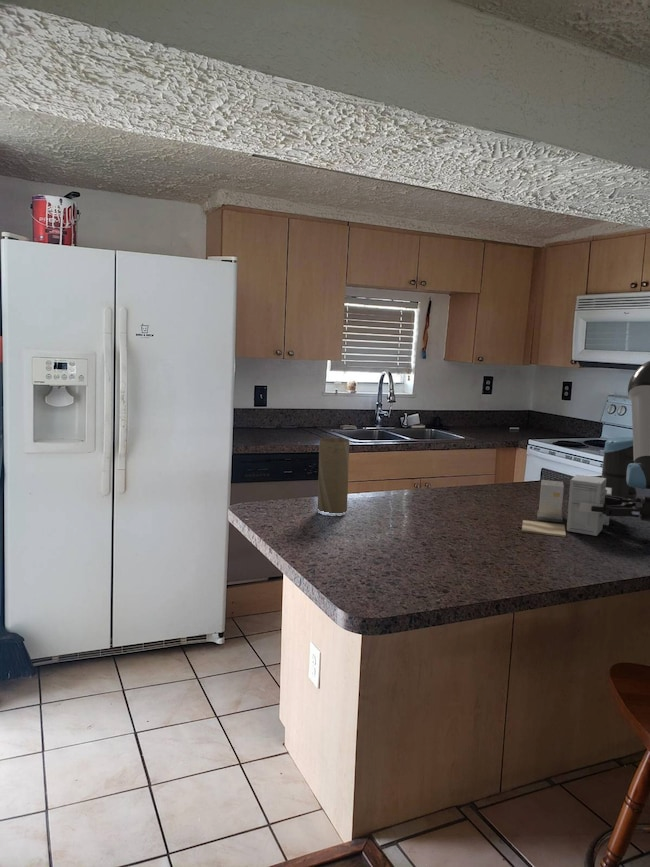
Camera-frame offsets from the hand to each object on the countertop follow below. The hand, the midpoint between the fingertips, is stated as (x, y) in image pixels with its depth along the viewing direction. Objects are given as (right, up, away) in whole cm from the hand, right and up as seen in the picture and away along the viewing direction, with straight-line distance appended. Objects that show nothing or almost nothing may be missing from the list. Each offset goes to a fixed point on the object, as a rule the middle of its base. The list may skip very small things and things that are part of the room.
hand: (578, 502), depth 207 cm
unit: (-4, -7, +15) cm, 17 cm away
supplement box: (+2, -9, +1) cm, 10 cm away
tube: (-78, -5, +14) cm, 79 cm away
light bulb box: (+12, -8, +14) cm, 20 cm away
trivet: (-11, -9, +2) cm, 14 cm away
